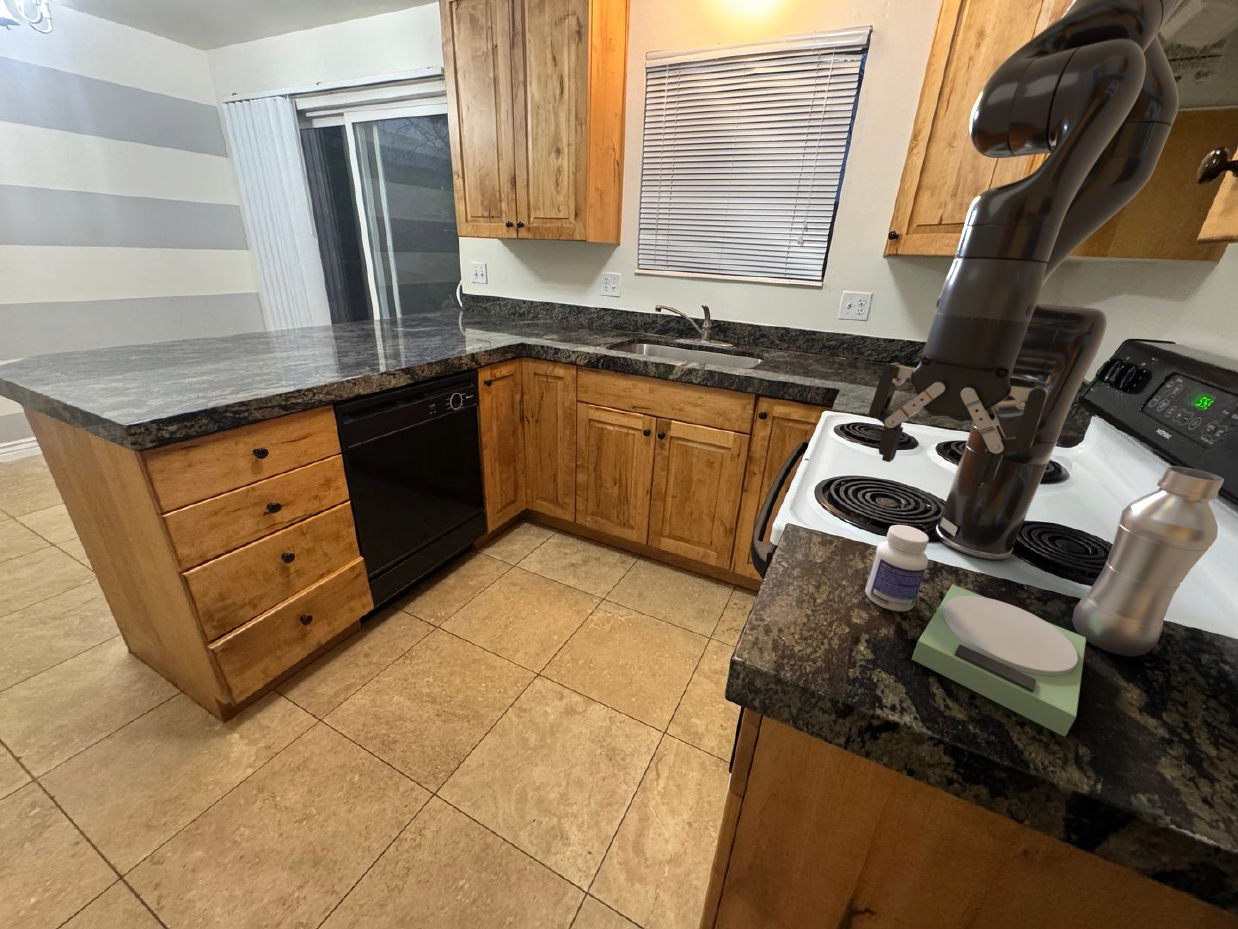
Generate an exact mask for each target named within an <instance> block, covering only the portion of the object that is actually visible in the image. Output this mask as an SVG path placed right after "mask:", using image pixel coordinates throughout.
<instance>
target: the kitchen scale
mask: <svg viewBox="0 0 1238 929" xmlns="http://www.w3.org/2000/svg"><path fill="white" fill-rule="evenodd" d="M1086 643H1087V641H1086V637H1083V636H1081V635H1079V634H1078V633H1077V632H1076V633H1075V632H1073V631H1070V630H1068V629H1066V628H1063V627H1061V626H1058V625H1056V624H1054V623H1050V622H1048V621H1046V620H1044V619H1042V618H1040V617H1038V616H1037V615H1035V614H1033V613H1031V612H1029V611H1027V610H1025V609H1022V608H1020V607H1018V606H1015V605H1014V604H1013V605H1012V604H1010V603H1007V602H1004V601H1001V600H997V599H993V598H989V597H987V596H983V595H981V594H978V593H976V592H973V591H970V590H968V589H965V588H963V587H961V586H958V585H956V584H951V586H950V588H949V590H948V592H947V593H946V595H945V596H944V597H943V600H942V601H941V603H940V604H939V606H938V607H937V609H936V611H935V612H934V614H933V616H932V618H931V619H930V621H929V622H928V624H927V626H926V627H925V629H924V631H923V632H922V634H921V636H920V638H919V639H918V640H917V642H916V646H915V648H914V651H913V654H912V657H911V660H912V661H913V662H915V663H918V664H920V665H922V666H924V667H926V668H928V669H930V670H932V671H934V672H935V673H937V674H940V675H942V676H944V677H946V678H948V679H950V680H951V681H953V682H954V683H957V684H959V685H961V686H963V687H966V688H967V689H969V690H971V691H973V692H975V693H976V694H979V695H981V696H983V697H985V698H987V699H989V700H991V701H992V702H994V703H997V704H999V705H1000V706H1003V707H1004V708H1007V709H1009V710H1010V711H1012V712H1014V713H1017V714H1019V715H1021V716H1022V717H1024V718H1025V719H1028V720H1030V721H1032V722H1034V723H1036V724H1038V725H1039V726H1043V727H1044V728H1046V729H1048V730H1049V731H1052V732H1054V733H1056V734H1058V735H1060V736H1062V737H1064V738H1066V736H1067V735H1068V733H1069V731H1070V729H1071V728H1072V726H1073V724H1074V722H1075V720H1076V719H1077V715H1078V706H1079V698H1080V692H1081V684H1082V675H1083V669H1084V668H1083V666H1084V661H1085V660H1084V658H1085V652H1086V651H1085V650H1086Z"/></svg>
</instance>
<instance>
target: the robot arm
mask: <svg viewBox="0 0 1238 929" xmlns="http://www.w3.org/2000/svg"><path fill="white" fill-rule="evenodd" d="M1183 1H1184V0H1075V1H1074V3H1073V4H1072V5H1071V6H1070V8H1069V9H1068V10H1067V11H1066V13H1065V14H1064V15H1063V17H1061V18H1060V19H1058V20H1056V21H1055V22H1053V23H1052V24H1050V25H1048V26H1047V27H1046V28H1044V29H1043V30H1042V31H1041V32H1040V33H1038V34H1037V35H1036V36H1034V37H1033V38H1032V39H1030V40H1029V41H1028V42H1026V43H1025V44H1023V45H1022V46H1021V47H1020V48H1019V49H1018V50H1016V51H1015V52H1013V53H1012V54H1011V55H1010V56H1009V57H1008V58H1006V59H1005V60H1004V61H1003V62H1002V64H1000V65H999V66H998V67H997V68H996V70H995V71H994V72H993V73H992V74H991V75H990V76H989V78H988V80H987V81H986V83H985V84H984V85H983V87H982V89H981V91H980V92H979V94H978V96H977V98H976V100H975V103H974V104H973V107H972V110H971V113H970V118H969V126H968V130H969V138H970V142H971V144H972V146H973V148H974V149H975V151H977V152H978V153H979V154H980V155H982V156H984V157H986V158H991V159H1006V158H1017V157H1025V156H1036V155H1045V154H1049V155H1047V157H1046V158H1045V159H1044V160H1043V161H1042V163H1041V164H1040V165H1039V166H1038V167H1037V168H1036V169H1035V170H1034V171H1033V172H1032V173H1030V174H1028V175H1027V176H1025V177H1023V178H1020V179H1018V180H1015V181H1012V182H1008V183H1005V184H1001V185H998V186H994V187H991V188H989V189H986V190H984V191H982V192H980V193H978V194H977V195H976V196H975V198H974V199H973V200H972V202H971V203H970V206H969V208H968V211H967V213H966V217H965V220H964V223H963V224H964V225H963V228H962V230H961V234H960V237H959V241H958V245H957V248H956V251H955V254H954V259H953V261H952V263H951V267H950V269H949V271H948V273H947V275H946V277H945V281H944V283H943V285H942V288H941V291H940V294H939V296H938V298H937V301H936V305H935V312H934V316H933V318H932V322H931V325H930V328H929V332H928V336H927V338H926V343H925V346H924V350H923V352H922V356H921V360H920V362H919V364H918V365H917V366H916V367H915V368H913V367H909V366H905V365H902V364H901V362H892V363H888V364H886V365H885V366H884V367H883V369H882V372H881V374H880V378H879V381H878V384H877V387H876V389H875V393H874V396H873V399H872V401H871V405H870V408H869V410H868V416H869V417H870V418H871V419H876V420H877V421H879V422H880V423H882V425H883V427H884V428H883V433H882V436H881V439H880V443H879V446H878V455H881V456H882V458H881V459H882V462H883V461H884V462H887V463H890V462H892V461H893V460H895V457H896V454H897V450H898V448H899V444H900V441H901V437H902V434H903V431H904V427H903V426H902V424H903V423H904V422H906V421H907V420H908V419H910V418H911V417H912V416H914V415H916V414H918V412H920V411H922V410H924V411H925V412H927V413H928V415H931V416H935V417H948V418H950V419H952V420H954V421H958V422H963V423H964V422H967V421H973V422H972V425H971V427H970V431H969V434H968V436H967V439H966V442H965V445H964V448H963V451H962V453H961V456H960V459H959V463H958V466H957V468H956V471H955V475H954V477H953V480H952V483H951V486H950V488H949V489H950V490H949V491H948V495H947V498H946V500H945V503H944V506H943V509H942V512H941V514H940V518H939V520H938V523H937V525H935V526H936V527H935V529H934V534H935V536H936V537H937V539H938V540H939V541H941V542H942V543H943V544H944V545H946V546H948V547H950V548H951V549H954V550H956V551H957V552H960V553H963V554H965V555H969V556H972V557H976V558H980V559H985V560H994V561H995V560H997V561H999V560H1006V559H1008V558H1010V557H1011V556H1012V554H1013V550H1014V545H1015V544H1016V541H1017V538H1018V536H1019V533H1020V532H1021V530H1022V527H1023V525H1024V522H1025V520H1026V517H1027V515H1028V513H1029V510H1030V507H1031V505H1032V503H1033V501H1034V499H1035V496H1036V493H1037V491H1038V488H1039V487H1040V484H1041V481H1042V479H1043V477H1044V474H1045V472H1046V470H1047V468H1048V464H1049V462H1050V460H1051V456H1052V454H1053V452H1054V450H1055V448H1056V445H1057V443H1058V440H1059V438H1060V435H1061V432H1062V430H1063V427H1064V425H1065V421H1066V419H1067V417H1068V414H1069V412H1070V409H1071V407H1072V405H1073V403H1074V400H1075V398H1076V396H1077V394H1078V392H1079V389H1080V388H1081V386H1082V383H1083V381H1084V379H1085V378H1086V375H1087V373H1088V372H1089V370H1090V367H1091V365H1092V363H1093V361H1094V360H1095V357H1096V356H1097V353H1098V351H1099V350H1100V347H1101V344H1102V342H1103V339H1104V336H1105V334H1106V330H1107V321H1108V320H1107V316H1106V314H1105V312H1104V311H1103V310H1101V309H1096V308H1089V307H1081V306H1080V307H1079V306H1068V305H1067V306H1066V305H1055V304H1044V303H1041V304H1040V303H1038V301H1039V298H1040V295H1041V292H1042V288H1043V286H1044V285H1045V284H1046V282H1047V281H1048V279H1049V278H1050V277H1051V275H1052V274H1053V273H1054V272H1055V271H1056V270H1057V268H1058V267H1059V266H1060V265H1061V264H1062V263H1063V262H1064V261H1065V260H1066V259H1067V258H1068V257H1069V256H1070V255H1071V254H1072V253H1073V252H1074V251H1075V250H1076V249H1077V248H1078V247H1079V246H1080V245H1082V243H1083V242H1085V240H1087V239H1088V238H1089V237H1090V236H1092V235H1093V234H1094V233H1095V232H1096V231H1098V230H1099V229H1100V228H1101V227H1102V226H1104V224H1106V223H1107V222H1108V221H1109V220H1111V219H1112V218H1113V217H1114V216H1115V215H1116V214H1118V213H1119V212H1120V211H1121V210H1122V209H1123V208H1124V207H1125V206H1126V205H1127V204H1129V203H1130V202H1131V201H1132V200H1133V199H1134V198H1135V197H1136V196H1137V195H1138V193H1139V192H1140V191H1141V190H1142V189H1143V188H1144V187H1145V186H1146V184H1147V183H1148V182H1150V179H1151V177H1152V176H1153V175H1154V172H1155V169H1156V167H1157V165H1158V161H1159V160H1160V157H1161V154H1162V152H1163V150H1164V147H1165V145H1166V143H1167V140H1168V138H1169V135H1170V133H1171V130H1172V126H1173V125H1174V123H1175V121H1176V117H1177V115H1178V113H1179V112H1178V111H1179V107H1180V97H1179V96H1180V95H1179V90H1178V85H1177V82H1176V79H1175V75H1174V72H1173V70H1172V68H1171V65H1170V62H1169V59H1168V58H1167V55H1166V53H1165V51H1164V49H1163V47H1162V46H1163V45H1162V43H1161V41H1160V39H1159V36H1158V34H1159V33H1160V32H1161V30H1162V29H1163V27H1164V26H1165V25H1166V24H1167V22H1168V21H1169V19H1170V18H1171V17H1172V15H1173V14H1174V12H1175V11H1176V10H1177V9H1178V7H1179V6H1180V5H1181V4H1182V2H1183ZM907 379H910V382H911V384H912V386H913V389H914V391H915V393H916V396H915V397H913V398H912V399H911V400H909V401H908V402H906V403H905V404H904V405H903V406H901V407H900V408H899V409H897V410H896V411H893V410H891V409H890V406H891V402H892V400H893V397H894V394H895V391H896V389H897V387H899V386H901V385H904V383H905V382H906V380H907ZM1012 379H1017V380H1022V381H1028V382H1029V381H1030V382H1035V383H1042V384H1045V385H1037V386H1035V387H1034V386H1025V385H1016V384H1013V382H1012ZM1008 397H1011V398H1013V399H1011V400H1005V399H1007V398H1008Z"/></svg>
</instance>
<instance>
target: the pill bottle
mask: <svg viewBox="0 0 1238 929" xmlns="http://www.w3.org/2000/svg"><path fill="white" fill-rule="evenodd" d="M929 540H930V538H929V535H928V534H927V533H925V532H924V531H922V530H920V529H918V528H916V527H913V526H909V525H903V524H895V525H891V526H889V528H888V531H887V534H886V540H885V541H882V542H880V543H879V544H878V545H877V548H876V550H875V553H874V557H873V561H872V565H871V568H870V571H869V574H868V578H867V581H866V584H865V589H864V590H865V591H864V592H865V595H866V596H867V598H868V599H869V601H871V602H872V603H874V604H875V605H877V606H879V607H881V608H883V609H885V610H889V611H893V612H908V611H911V610H913V608H914V606H915V603H916V600H917V598H918V594H919V592H920V589H921V586H922V583H923V580H924V578H925V574H926V571H927V568H928V565H929V558H928V556H927V554H926V553H925V552H926V549H927V547H928V544H929Z"/></svg>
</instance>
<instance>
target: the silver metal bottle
mask: <svg viewBox="0 0 1238 929" xmlns="http://www.w3.org/2000/svg"><path fill="white" fill-rule="evenodd" d="M1224 481H1225V479H1224V478H1223V477H1221V476H1219V475H1217V474H1214V473H1211V472H1208V471H1203V470H1201V469H1196V468H1190V467H1185V466H1177V465H1175V466H1174V465H1171V466H1168V467H1167V468H1166V470H1165V472H1164V473H1163V475H1162V477H1161V478H1159V479H1158V481H1157V483H1156V485H1157V486H1158V487H1159V488H1158V489H1157V490H1156V491H1153V492H1150V493H1148V494H1146V495H1144V496H1141V497H1139V498H1138V499H1135V500H1134V501H1131V502H1130V503H1129V504H1128V505H1127V506H1126V507H1125V508H1124V509H1122V511H1121V514H1120V516H1119V521H1118V523H1117V527H1116V531H1115V535H1114V539H1113V543H1112V545H1111V548H1110V551H1109V554H1108V555H1107V559H1106V561H1105V564H1104V566H1103V568H1102V570H1101V572H1100V574H1099V575H1098V576H1097V578H1096V580H1095V581H1094V583H1093V584H1092V586H1091V587H1090V589H1089V590H1088V591H1087V592H1086V593H1085V594H1084V595H1083V596H1082V597H1081V599H1080V600H1079V601H1078V602H1077V604H1076V606H1075V607H1074V609H1073V614H1072V619H1071V620H1072V621H1071V622H1072V625H1073V628H1074V629H1075V630H1074V631H1075V632H1076V634H1078V635H1081V636H1083V637H1086V642H1088V643H1090V644H1091V645H1093V646H1095V647H1097V648H1099V649H1101V650H1104V651H1106V652H1108V653H1112V654H1115V655H1118V656H1123V657H1138V656H1142V655H1146V654H1148V653H1149V652H1150V651H1151V650H1153V648H1154V647H1155V646H1156V645H1157V644H1158V643H1159V640H1160V638H1161V635H1162V633H1163V632H1162V631H1163V627H1164V620H1165V617H1166V615H1167V612H1168V610H1169V607H1170V605H1171V602H1172V600H1173V598H1174V595H1175V594H1176V592H1177V590H1178V589H1179V588H1180V586H1181V584H1182V583H1183V581H1184V580H1185V578H1186V577H1187V575H1188V574H1189V573H1190V571H1191V570H1192V568H1193V567H1195V565H1197V563H1198V562H1199V560H1200V559H1201V558H1202V557H1203V556H1204V555H1205V554H1206V553H1207V551H1208V550H1209V548H1211V547H1212V546H1213V544H1214V543H1215V542H1216V540H1217V538H1218V531H1219V526H1218V524H1217V520H1216V516H1215V515H1214V513H1213V510H1212V507H1211V506H1210V504H1209V503H1210V501H1211V500H1212V501H1213V500H1216V499H1217V498H1218V496H1219V491H1220V489H1221V488H1222V486H1223V484H1224Z"/></svg>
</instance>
